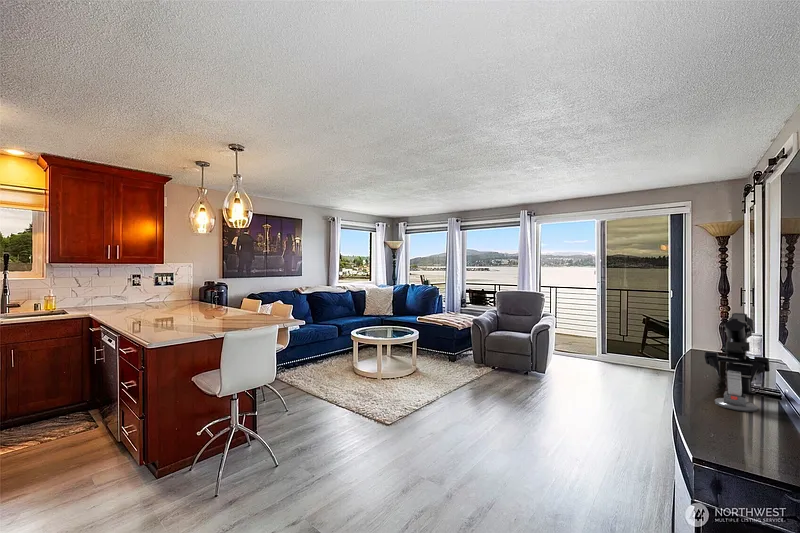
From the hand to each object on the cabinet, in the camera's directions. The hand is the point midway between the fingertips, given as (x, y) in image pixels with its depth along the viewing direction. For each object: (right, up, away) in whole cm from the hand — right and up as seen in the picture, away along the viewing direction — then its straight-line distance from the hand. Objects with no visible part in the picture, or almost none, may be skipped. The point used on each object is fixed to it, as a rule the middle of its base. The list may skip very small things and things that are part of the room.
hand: (735, 378), depth 140 cm
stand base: (-2, -10, -2) cm, 10 cm away
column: (-2, -8, -2) cm, 9 cm away
